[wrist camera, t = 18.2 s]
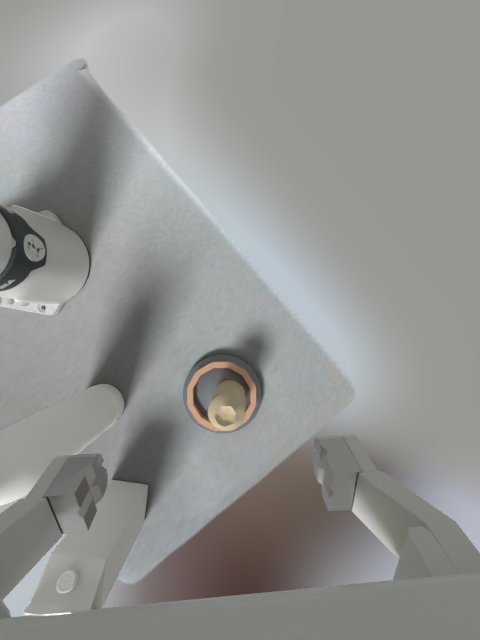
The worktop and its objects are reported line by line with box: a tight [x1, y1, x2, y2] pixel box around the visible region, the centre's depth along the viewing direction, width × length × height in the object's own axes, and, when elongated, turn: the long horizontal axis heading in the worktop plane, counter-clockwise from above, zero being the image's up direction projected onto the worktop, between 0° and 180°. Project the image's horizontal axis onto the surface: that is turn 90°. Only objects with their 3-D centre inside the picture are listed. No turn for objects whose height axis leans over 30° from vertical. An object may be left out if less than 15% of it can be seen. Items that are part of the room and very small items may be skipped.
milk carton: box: [23, 480, 148, 615], centre depth 40 cm, size 7×7×19 cm
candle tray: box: [183, 354, 262, 433], centre depth 47 cm, size 14×14×2 cm
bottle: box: [0, 384, 124, 505], centre depth 34 cm, size 8×8×30 cm
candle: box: [208, 380, 246, 431], centre depth 42 cm, size 6×6×10 cm
